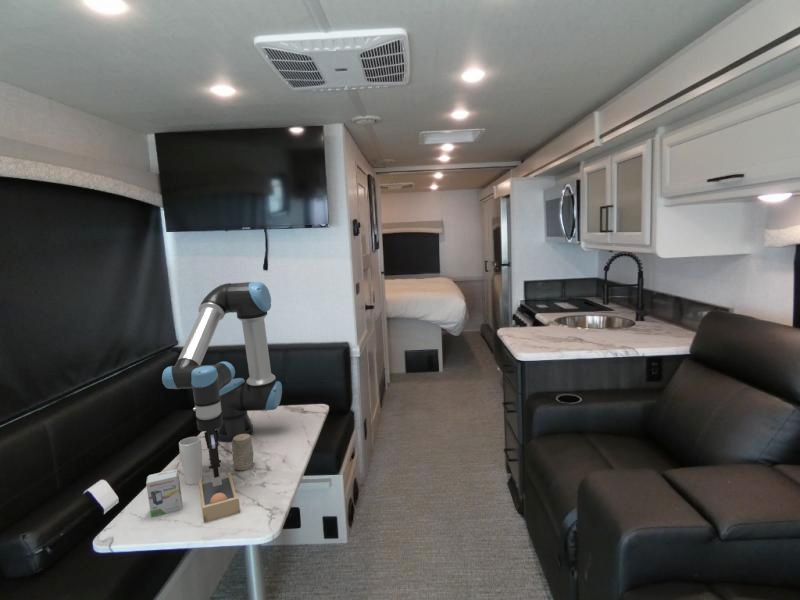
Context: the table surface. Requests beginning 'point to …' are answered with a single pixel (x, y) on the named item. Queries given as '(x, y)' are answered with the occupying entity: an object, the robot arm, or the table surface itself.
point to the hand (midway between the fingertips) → (217, 484)
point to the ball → (218, 498)
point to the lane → (221, 507)
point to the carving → (242, 452)
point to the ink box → (164, 492)
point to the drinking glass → (191, 459)
